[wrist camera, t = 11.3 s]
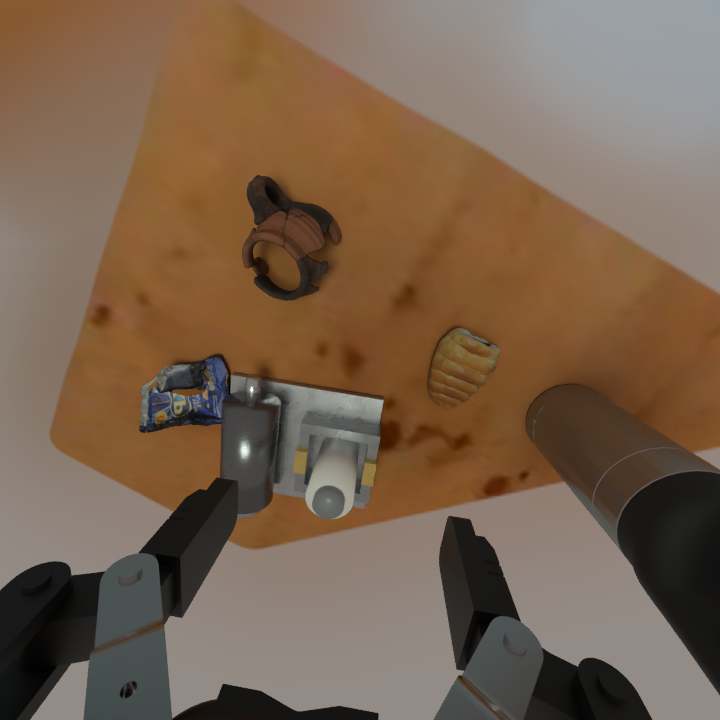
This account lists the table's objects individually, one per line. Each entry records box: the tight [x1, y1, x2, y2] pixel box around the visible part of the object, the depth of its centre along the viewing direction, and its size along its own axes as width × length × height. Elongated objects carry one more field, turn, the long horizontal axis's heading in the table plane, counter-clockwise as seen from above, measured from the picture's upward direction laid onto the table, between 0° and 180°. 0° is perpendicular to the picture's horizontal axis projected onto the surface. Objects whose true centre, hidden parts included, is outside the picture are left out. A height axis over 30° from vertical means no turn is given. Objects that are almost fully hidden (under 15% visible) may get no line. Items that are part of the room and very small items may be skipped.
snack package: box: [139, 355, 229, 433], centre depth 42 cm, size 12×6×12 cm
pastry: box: [428, 328, 500, 409], centre depth 39 cm, size 9×7×4 cm
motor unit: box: [220, 372, 384, 518], centre depth 41 cm, size 19×18×7 cm
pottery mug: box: [242, 175, 341, 301], centre depth 36 cm, size 12×10×8 cm
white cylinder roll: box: [305, 437, 359, 519], centre depth 39 cm, size 5×5×10 cm
